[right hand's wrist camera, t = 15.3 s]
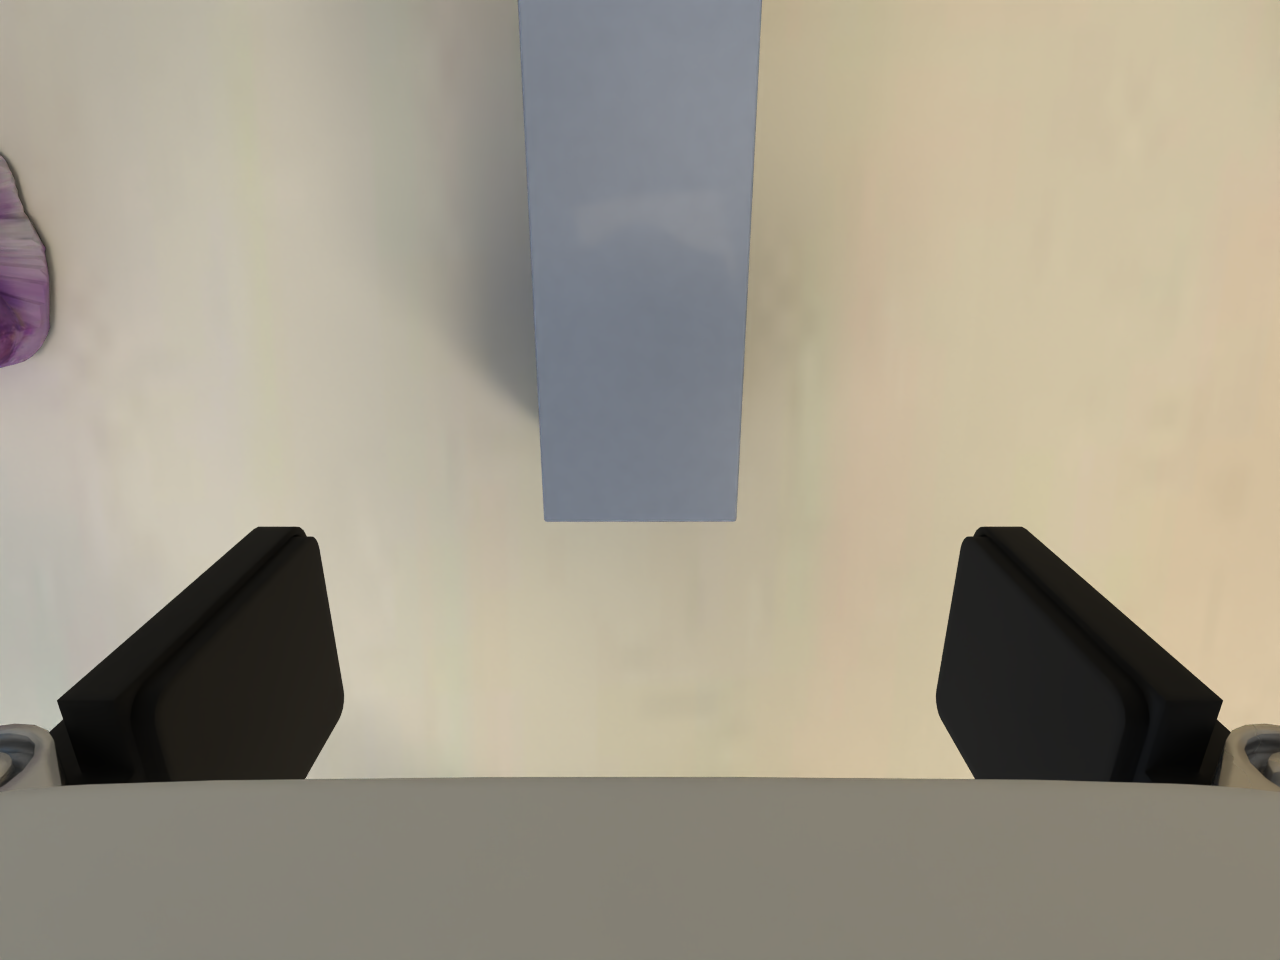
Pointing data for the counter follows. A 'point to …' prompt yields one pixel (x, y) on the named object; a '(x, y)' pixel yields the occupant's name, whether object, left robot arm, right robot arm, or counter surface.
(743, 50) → the blue-grey slab
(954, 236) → the counter surface
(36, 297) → the figurine
